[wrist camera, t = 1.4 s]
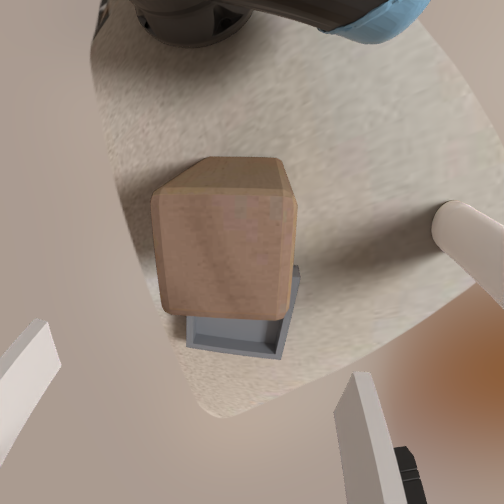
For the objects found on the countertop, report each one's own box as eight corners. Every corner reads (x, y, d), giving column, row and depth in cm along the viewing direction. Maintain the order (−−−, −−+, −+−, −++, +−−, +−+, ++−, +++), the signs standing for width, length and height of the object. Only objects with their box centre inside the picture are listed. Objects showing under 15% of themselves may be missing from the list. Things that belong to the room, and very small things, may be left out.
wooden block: (204, 230, 42) (159, 318, 23) (202, 155, 38) (143, 191, 19) (279, 233, 41) (288, 326, 23) (283, 157, 37) (300, 193, 19)
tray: (193, 251, 43) (188, 262, 40) (298, 265, 43) (300, 277, 40) (190, 333, 49) (186, 347, 46) (280, 345, 49) (280, 359, 46)
